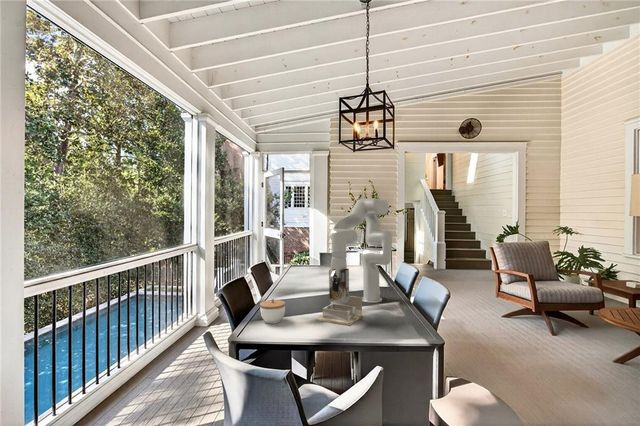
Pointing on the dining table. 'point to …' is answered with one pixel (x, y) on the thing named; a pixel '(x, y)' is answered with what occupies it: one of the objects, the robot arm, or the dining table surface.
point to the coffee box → (340, 287)
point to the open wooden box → (343, 311)
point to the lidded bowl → (272, 310)
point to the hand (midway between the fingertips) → (339, 289)
